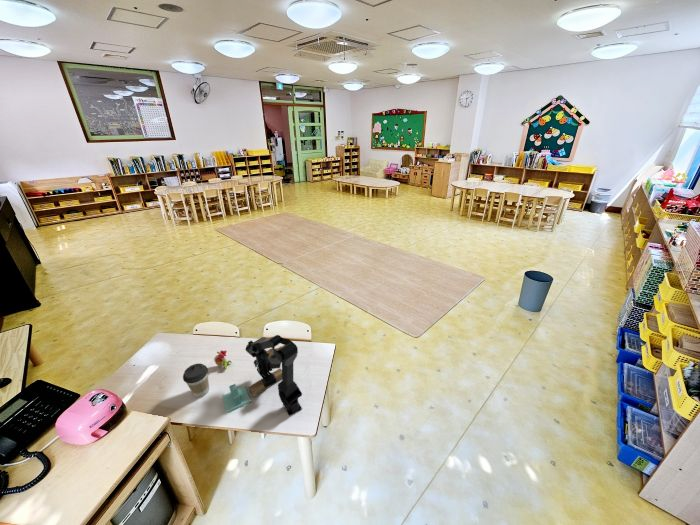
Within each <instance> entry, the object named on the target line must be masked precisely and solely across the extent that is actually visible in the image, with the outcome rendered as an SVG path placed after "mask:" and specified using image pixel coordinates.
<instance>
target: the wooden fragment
mask: <svg viewBox="0 0 700 525" xmlns="http://www.w3.org/2000/svg"><path fill="white" fill-rule="evenodd" d="M284 346H285V345H284V344H282V346H279V347H277V348H275V350H276V351H278V350H279V349H281V348H282V347H284ZM266 351H267V353H268V354H269V355H270V356H268V359H270V357H271V355H272V354H274V352H273V349H272V348H269V349H268V350H266Z"/></svg>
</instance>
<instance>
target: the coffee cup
mask: <svg viewBox="0 0 700 525" xmlns="http://www.w3.org/2000/svg"><path fill="white" fill-rule="evenodd" d="M208 373H209V369H208V367H207V366H206V365H205V364H203V363H201V362H200V363H193V364H192V365H190V366H188V367H186V369H185V370H184V373H183V375H182V379H183V381H184V383H186V385H187V387H189V389H190V391H191V393H192V394H193V395H194V396H195V397H196V398H202V397H205V396H206V395H207V394H208V393H209V391H210V383H209V375H208Z"/></svg>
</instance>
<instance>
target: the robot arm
mask: <svg viewBox="0 0 700 525" xmlns="http://www.w3.org/2000/svg"><path fill="white" fill-rule="evenodd" d="M279 344H281V345H285V346H284V347H282V348H281V349H279V350H278V351H276V350H275V347H277V346H279ZM267 349H273V352H274V354H272V355H271V357H270V359H268V356H270V355H269V354H268V353H267V351H268V350H267ZM245 352H246V353H247V354H249V355H250V356H251V357H253V358H255V359H254V361H253V364H254V367H255V368H256V371H257V373H258V374H259V375H260V377H261V379H260V380H262V382H263V385H264V387H268V386H269V387H271V386H273V385H275V384H277V383H278V384H277V390H278V397H279V399H280V402H281V403H282V406H283V407H284V408H285V409H286V412H287V414H288V416H289V417H290V416H292V415H294V414H295V413H298V412H300V411H302V410H303V408H302V406H301V404H300V403H299V398H301V397H302V396H303V393H302V391H301V390H300V388H299V387H298V385H297V384H298V383H296V382H295V381H294V361H295V360H296V359H297V357H298V353H299V350H298V346H297V345H296V343H294V342H293V341H292V340H291V339H289V338H286V337H282V336H281V335H279V334H276V335H273V336H270V337H267V338H266V337H264V336H261V337H260V338H258V339H256V340H255V341H252V340H249V341H248V342H247V345H246V347H245ZM273 369H281V370H282V379H281V380H280V382H277V379H276V377H275V375H274V374H272V373H273V372H272V371H273ZM272 384H273V385H272ZM270 385H271V386H270ZM269 387H268V388H269Z"/></svg>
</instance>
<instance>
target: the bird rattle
mask: <svg viewBox="0 0 700 525" xmlns="http://www.w3.org/2000/svg"><path fill="white" fill-rule="evenodd" d="M227 352H228V350H222V349H221V350H220V352H219V351H217V352H216V353H217V355H215V357H214V358H213V359H214V363H215V365H216V366H217V367H224V369H225V370H226V369H227V370H228V364H229V363H232V360H227V358H226V357H227Z"/></svg>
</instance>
